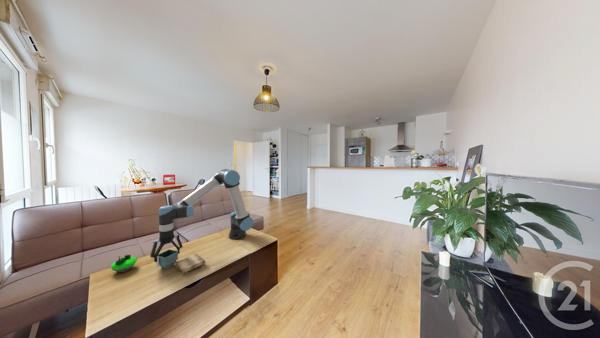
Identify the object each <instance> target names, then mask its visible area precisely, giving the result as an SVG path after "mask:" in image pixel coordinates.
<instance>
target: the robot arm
mask: <svg viewBox="0 0 600 338" xmlns="http://www.w3.org/2000/svg"><path fill="white" fill-rule="evenodd" d="M240 181H241V176H240V173H239V172H238V171H236V170H234V169H226V168H225V169H222V170H219V171H218V172H217V173H215V174H214V175H212V176H211V179H209V180H208V181H206V182H205V183H203V184H202V185H201V186H199V187H198V188H197V189H195V190H194V191H193V192H191V193H190V194H189V195H187V196H186V197H185V198H183V199H182V200H180V201H178V202H174V204H173V205H163V206H160V207H159V208H158V226H159V227H158V228H159V231H158V233H159V239H157V240H155V239H154V240H153V245H152V249H151V252H150V255H149V256H150V258H152V259H153V261H154V263H155V265H156V266H155V267H157V268H159V267H160V265H159V257H158V254H160V253H161V251H162V249H163V247H164V246H165V245H168V244H172V245H173V247H175V249H174V250H175V251H178V255H180V253H181V252H180V250H181V249H182V248H183V247H184V246H183V244H182V241H181V239H180V234H178V233H176V234H174V220H178V219H184V218H190V217H193V216H194V215H195V209H194V208H195V207H194V206H193V205H194V204H196V203H197V202H198V201H200V200H201V199H203V198H204V197H206V195H208V194H209V193H210V192H212V191H213V190H214V189H215V188H218V187H220V186H221V185H223V184H224V188H225V189H226V190H227V191H228V194H229V197H230V201H231V203H232V205H233V209H234V211H231V212H230V217H229V218H230V230H229V233H228V238H229V239H231V240H240V239H243V238H245V237H246V236H247V233H246V231H249V230H250V229H252V228H253V226H254V219H253V217H251V216H250V211H247V209H246V205H245V203H244V199H243V195H242V192H241V190H240V184H241V183H240ZM174 239H176V241H177V243H178V245H177V244H176V242H175V241H174ZM159 242H160V243H159ZM158 244H159V245H158ZM177 261H179V256H178V257H177Z"/></svg>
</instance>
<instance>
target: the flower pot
mask: <svg viewBox="0 0 600 338" xmlns="http://www.w3.org/2000/svg"><path fill="white" fill-rule="evenodd" d="M158 257H159V267H160V268H162V269H165V270H168V269H169V268H171V267H173V266H174V265H175V262H177V261H178V260H177V257H178V258H179V254H178V251H175V249H170V248H169V249H167V250H165V251H163V252H159V254H158Z"/></svg>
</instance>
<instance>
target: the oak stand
mask: <svg viewBox="0 0 600 338" xmlns="http://www.w3.org/2000/svg"><path fill="white" fill-rule="evenodd" d="M174 265H175V268H176V270H179V271H181V272H182V275H183V276H186V275H188V273H189V272H190V271H191V270H194V269H195V268H197V267H200V266H201V268H204V267H205V265H206V260H205V259H204V258H203V257H202V256H201V255H199V254H198V253H195V254H192V255H190V256H188V257H185V258H182V259H180V260H177V261H176V262H175V264H174ZM203 266H204V267H203ZM188 271H189V272H188Z"/></svg>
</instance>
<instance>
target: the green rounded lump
mask: <svg viewBox="0 0 600 338" xmlns="http://www.w3.org/2000/svg"><path fill="white" fill-rule="evenodd" d="M137 261H138V257H135V256H131V254H125V255H124V257H121V258H120V256H119V255H118V259H117V260H116V261H114V262H113V263H112V264H111V266H110V269H111V270H112V271H115V272H116V273H117V272H118V273H125V272H127V271H129V270H130V269H132V268H133V267H134V265H136V263H137Z"/></svg>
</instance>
